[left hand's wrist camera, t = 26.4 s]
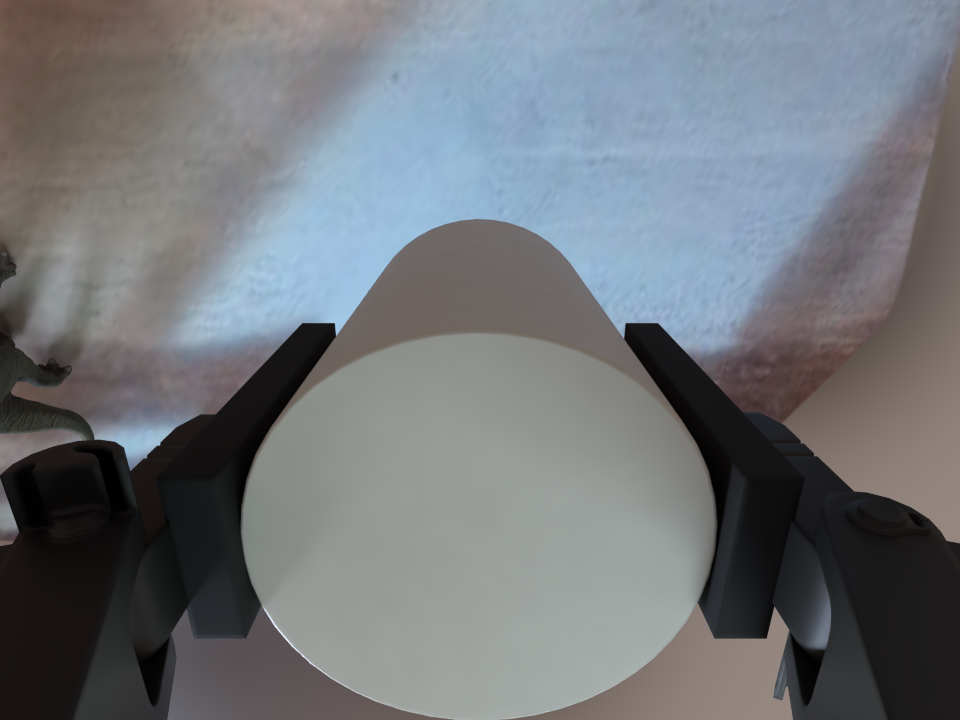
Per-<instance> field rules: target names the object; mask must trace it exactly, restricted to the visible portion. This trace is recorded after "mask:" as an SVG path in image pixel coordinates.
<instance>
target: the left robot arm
mask: <svg viewBox="0 0 960 720" xmlns="http://www.w3.org/2000/svg"><path fill="white" fill-rule="evenodd" d="M335 337H336V332H335V323H302V324H301V325H300V326H299V327H298V328H297V330H296V331H295V332H294V333H293V334H292V335H291V336H290V337H289V338H288V339H287V340H286V341H285V342H284V343H283V344H282V345H281V346H280V347H279V349H278V350H277V351H276V352H275V353H274V354H273V355H272V356H271V357H270V358H269V359H268V360H267V361H266V362H265V363H264V364H263V365H262V366H261V367H260V369H259V370H258V371H257V372H256V373H255V374H254V375H253V376H252V377H251V378H250V379H249V380H248V381H247V382H246V383H245V384H244V385H243V386H242V387H241V389H240V390H239V391H238V392H237V393H236V394H235V395H234V396H233V397H232V398H231V399H230V400H229V401H228V402H227V403H226V404H225V405H224V406H223V407H222V409H221V410H220V411H219V412H218V413H217V414H210V415H199V416H197V417H195V418H193V419H191V420H189V421H188V422H186V423H184V424H182V425H180V426H178V427H176V428H175V429H174V430H173V431H172V432H171V433H170V434H169V435H168V436H167V437H166V438H165V439H164V440H163V441H162V442H161V444H160V446H156V447H155V448H154V449H153V450H152V451H151V452H150V453H149V454H148V455H147V459H143V460H142V461H141V462H140V463H139V464H138V465H137V466H136V467H135V468H133V469H132V470H131V471H130V469H129V466H128V462H127V458H126V454H125V450H124V447H122V446H121V445H119V444H117V443H116V442H112V441H105V440H86V441H76V442H71V443H67V444H62V445H57V446H54V447H51V448H48V449H45V450H42V451H39V452H37V453H34V454H31V455H29V456H28V457H26V458H24V459H22V460H20V461H18V462H16V463H14V464H12V465H11V466H10V467H9V468H8V469H7V470H6V471H4V472H3V473H2V474H1V475H0V479H1V481H2V484H3V487H4V490H5V493H6V496H7V498H8V501H9V504H10V507H11V510H12V513H13V515H14V518H15V521H16V524H17V527H18V530H19V534H18V536H17V537H16V539H15V541H14V542H13V544H10V545H5V546H0V720H167V717H168V711H169V704H170V697H171V691H172V684H173V678H174V671H175V664H176V652H175V645H174V641H173V637H172V634H171V632H172V631H173V629H174V628H175V626H176V624H177V623H178V621H179V619H180V618H181V616H182V615H183V613H184V611H185V610H186V608H187V612H188V616H189V620H190V624H191V629H192V633H193V637H194V638H246V637H247V635H248V633H249V630H250V628H251V626H252V624H253V622H254V620H255V618H256V616H257V613H258V611H259V609H260V607H261V603H260V601H259V599H258V597H257V594H256V592H255V590H254V588H253V586H252V584H251V581H250V577H249V574H248V570H247V567H246V563H245V559H244V553H243V547H242V539H241V504H242V499H243V494H244V489H245V484H246V479H247V476H248V474H249V471H250V468H251V466H252V463H253V460H254V457H255V455H256V452H257V451H258V449H259V447H260V445H261V444H262V442H263V440H264V438H265V437H266V435H267V433H268V431H269V430H270V428H271V426H272V425H273V424H274V422H275V421H276V420H277V418H278V417H279V415H280V414H281V413H282V411H283V410H284V408H285V407H286V406H287V404H288V403H289V401H290V400H291V399H292V397H293V396H294V394H295V393H296V392H297V390H298V389H299V388H300V386H301V385H302V383H303V382H304V381H305V379H306V378H307V376H308V375H309V374H310V372H311V371H312V369H313V368H314V367H315V365H316V364H317V362H318V361H319V360H320V358H321V357H322V356H323V354H324V353H325V351H326V350H327V349H328V347H329V346H330V344H331V343H332V342H333V340H334V339H335ZM624 340H625V341H626V343H627V344H628V346H629V347H630V348H631V350H632V351H633V353H634V354H635V355H636V357H637V358H638V360H639V361H640V362H641V364H642V365H643V367H644V368H645V369H646V371H647V372H648V374H649V375H650V377H651V378H652V379H653V381H654V382H655V384H656V385H657V386H658V388H659V389H660V391H661V392H662V393H663V395H664V396H665V398H666V399H667V400H668V402H669V403H670V405H671V406H672V407H673V409H674V410H675V412H676V413H677V415H678V416H679V417H680V419H681V420H682V422H683V423H684V425H685V426H686V428H687V430H688V431H689V433H690V434H691V436H692V437H693V439H694V440H695V442H696V444H697V445H698V448H699V450H700V452H701V454H702V457H703V459H704V461H705V464H706V466H707V468H708V471H709V475H710V478H711V482H712V486H713V490H714V494H715V501H716V513H717V534H716V547H715V554H714V558H713V562H712V566H711V570H710V575H709V577H708V580H707V582H706V585H705V587H704V590H703V592H702V594H701V597H700V599H699V601H698V604H699V606H700V608H701V610H702V612H703V615H704V617H705V619H706V621H707V623H708V625H709V628H710V630H711V632H712V634H713V636H714V638H757V639H758V638H759V639H764V638H765V639H766V638H767V635H768V630H769V626H770V622H771V618H772V614H773V610H774V606H775V608H776V609H777V611H778V612H779V614H780V616H781V617H782V619H783V620H784V622H785V624H786V625H787V627H788V628H789V634H788V637H787V642H786V645H785V649H784V653H783V657H782V661H781V665H780V669H779V673H778V677H777V681H776V684H775V691H774V698H776V699H780V700H782V699H783V695H784V691H785V688H786V687H787V686H788V689H789V696H790V702H791V709H792V715H793V720H960V543H955V542H949V541H946V539H945V538H944V536H943V535H942V533H941V531H940V530H939V529H938V528H937V527H936V526H935V525H934V524H933V523H932V522H931V521H930V519H928V518H927V517H925V516H924V515H922V514H920V513H919V512H917V511H916V510H914V509H913V508H911V507H909V506H906V505H904V504H902V503H899V502H897V501H894V500H892V499H890V498H886V497H882V496H878V495H874V494H870V493H865V492H854V491H853V490H852V489H851V488H850V487H849V486H848V485H847V484H846V483H845V482H844V481H843V480H841V479H840V478H839V477H838V476H837V475H836V474H835V473H834V472H833V471H832V470H831V469H830V468H829V467H828V466H827V465H826V464H825V463H824V462H823V461H822V460H820V459H819V458H818V457H817V456H814V453H813V452H812V451H811V450H810V449H809V448H808V447H807V446H806V445H805V444H801V442H800V440H799V439H798V438H797V437H796V436H795V435H794V434H793V433H792V432H791V431H790V430H789V429H788V428H787V427H786V426H785V425H783V424H781V423H779V422H777V421H775V420H773V419H771V418H769V417H768V416H766V415H764V414H762V413H743V412H742V411H741V410H740V409H739V408H738V407H737V406H736V405H735V404H734V403H733V402H732V401H731V400H730V399H729V398H728V396H727V395H726V394H725V393H724V392H723V391H722V390H721V389H720V388H719V387H718V386H717V385H716V384H715V383H714V382H713V381H712V380H711V379H710V378H709V376H708V375H707V374H706V373H705V372H704V371H703V370H702V369H701V368H700V367H699V366H698V365H697V364H696V363H695V362H694V361H693V360H692V359H691V358H690V356H689V355H688V354H687V353H686V352H685V351H684V350H683V349H682V348H681V347H680V346H679V345H678V344H677V343H676V342H675V341H674V340H673V339H672V338H671V336H670V335H669V334H668V333H667V332H666V331H665V330H664V329H663V328H662V327H661V326H660V325H659V324H658V323H626V325H625V336H624Z"/></svg>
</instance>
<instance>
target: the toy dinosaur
mask: <svg viewBox="0 0 960 720" xmlns="http://www.w3.org/2000/svg"><path fill="white" fill-rule="evenodd" d="M15 269H16V264H14V263H12V262H10V261H9V255H8V253H7V252H6V251H1V252H0V287H1V284H2V282H3V281H4V280H6V279H8V278H9V277H11V276H15V275H16V272H15ZM71 370H72V367H71V366H66V367H62V368H60V367H59V364H58V363H57V362H56V361H55V360H54V359H53V358H51V359H50V360H49V361H48V363H47V365H46V366H44V365H42V364H38V366H37V365H36V364H34V363H33V361H32V359H30V358H29V357H27V356H26V355H25V354H24V352H23V351H21V350H20V349H17V348H15V343H14V342H13V340H12V339H11V335H10V334H9V335H5V334H4V333H2V332H1V330H0V434H21V433H32V432H38V431H45V430H66V431H70V432H73V433H75V434H77V435H78V436H79V437H80V438H81V439H82V441H86V440H94V434H93V432H92V430H91V427H90V425H89V424H88V423H87V422H86V421H85V420H84V419H83V418H82V417H81V416H80V415H79V414H77V413H75V412H73V411H70V410H66V409H60V408H57V407H53V406H50V405H46V404H42V403H40V402H36V401H30V400H26V399H23V398H20V397H16V396H14V395H12V394H11V390H12V388H13V387H14V385H15V384H16V382H17V381H20V382H23V381H27V382H29V383H30V384H32V385H33V386H35V387H37V388H38V387H55V386H58V385H59V384H61V383H62V381H63V380H64V379H65V378H66V377H68V376H69V375H70V373H71Z"/></svg>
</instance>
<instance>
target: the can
mask: <svg viewBox="0 0 960 720" xmlns="http://www.w3.org/2000/svg"><path fill="white" fill-rule="evenodd" d="M716 534H717V513H716V501H715V494H714V490H713V486H712V482H711V478H710V475H709V471H708V468H707V466H706V464H705V461H704V459H703V457H702V454H701V452H700V450H699V448H698V445H697V444H696V442H695V440H694V439H693V437H692V436H691V434H690V433H689V431H688V430H687V428H686V426H685V425H684V423H683V422H682V420H681V419H680V417H679V416H678V415H677V413H676V412H675V410H674V409H673V407H672V406H671V405H670V403H669V402H668V400H667V399H666V398H665V396H664V395H663V393H662V392H661V391H660V389H659V388H658V386H657V385H656V384H655V382H654V381H653V379H652V378H651V377H650V375H649V374H648V372H647V371H646V369H645V368H644V367H643V365H642V364H641V362H640V361H639V360H638V358H637V357H636V355H635V354H634V353H633V351H632V350H631V348H630V347H629V346H628V344H627V343H626V341H625V340H624V338H623V337H622V336H621V334H620V333H619V331H618V330H617V329H616V327H615V326H614V324H613V323H612V322H611V320H610V319H609V317H608V316H607V315H606V313H605V312H604V310H603V309H602V308H601V306H600V305H599V303H598V302H597V300H596V299H595V298H594V296H593V295H592V293H591V292H590V291H589V289H588V288H587V286H586V285H585V284H584V282H583V281H582V279H581V278H580V277H579V275H578V274H577V272H576V271H575V269H574V268H573V267H572V265H571V264H570V263H569V262H568V260H567V259H566V258H565V257H564V256H563V255H562V253H561V252H560V251H558V250H557V249H556V248H555V247H554V246H553V245H552V244H550V243H549V242H548V241H546V240H545V239H543V238H542V237H540V236H539V235H537V234H535V233H533V232H531V231H529V230H527V229H525V228H523V227H519V226H516V225H513V224H510V223H506V222H501V221H495V220H482V219H474V220H463V221H458V222H453V223H449V224H445V225H442V226H440V227H437V228H434V229H432V230H430V231H428V232H426V233H424V234H422V235H420V236H418V237H417V238H416V239H414V240H413V241H411V242H410V243H409V244H407V245H406V246H405V247H404V248H403V249H402V250H401V251H400V252H399V253H397V254H396V255H395V256H394V258H393V259H392V260H391V262H390V263H389V264H388V265H387V267H386V268H385V269H384V271H383V272H382V273H381V275H380V276H379V278H378V279H377V280H376V282H375V283H374V285H373V286H372V287H371V289H370V290H369V292H368V293H367V294H366V296H365V297H364V298H363V300H362V301H361V303H360V304H359V305H358V307H357V308H356V310H355V311H354V312H353V314H352V315H351V317H350V318H349V319H348V321H347V322H346V324H345V325H344V326H343V328H342V329H341V330H340V332H339V333H338V335H337V336H336V337H335V339H334V340H333V342H332V343H331V344H330V346H329V347H328V349H327V350H326V351H325V353H324V354H323V356H322V357H321V358H320V360H319V361H318V362H317V364H316V365H315V367H314V368H313V369H312V371H311V372H310V374H309V375H308V376H307V378H306V379H305V381H304V382H303V383H302V385H301V386H300V388H299V389H298V390H297V392H296V393H295V394H294V396H293V397H292V399H291V400H290V401H289V403H288V404H287V406H286V407H285V408H284V410H283V411H282V413H281V414H280V415H279V417H278V418H277V420H276V421H275V422H274V424H273V425H272V426H271V428H270V430H269V431H268V433H267V435H266V437H265V438H264V440H263V442H262V444H261V445H260V447H259V449H258V451H257V452H256V455H255V457H254V460H253V463H252V466H251V468H250V471H249V474H248V476H247V479H246V484H245V489H244V494H243V499H242V504H241V539H242V547H243V553H244V559H245V563H246V567H247V570H248V574H249V577H250V581H251V584H252V586H253V588H254V590H255V592H256V594H257V597H258V599H259V601H260V603H261V605H262V607H263V608H264V610H265V611H266V613H267V615H268V616H269V618H270V619H271V621H272V622H273V624H274V625H275V627H276V628H277V629H278V630H279V632H280V633H281V634H282V635H283V636H284V638H285V639H286V640H287V641H288V642H289V643H290V645H291V646H292V647H293V648H294V649H295V650H297V651H298V652H299V653H300V654H301V655H302V656H303V657H304V658H305V659H306V660H307V661H309V662H310V663H311V664H312V665H314V666H315V667H316V668H318V669H319V670H320V671H322V672H323V673H325V674H326V675H327V676H329V677H330V678H331V679H333V680H335V681H337V682H338V683H340V684H342V685H344V686H345V687H347V688H349V689H351V690H352V691H354V692H356V693H359V694H361V695H363V696H365V697H368V698H370V699H372V700H375V701H377V702H379V703H382V704H386V705H389V706H392V707H395V708H398V709H401V710H404V711H409V712H413V713H418V714H422V715H427V716H432V717H440V718H448V719H456V720H498V719H512V718H518V717H524V716H531V715H537V714H541V713H545V712H549V711H553V710H557V709H560V708H564V707H567V706H569V705H572V704H575V703H578V702H581V701H583V700H586V699H589V698H591V697H593V696H595V695H597V694H599V693H601V692H603V691H605V690H607V689H609V688H611V687H613V686H615V685H616V684H618V683H620V682H621V681H623V680H624V679H626V678H628V677H629V676H631V675H632V674H634V673H635V672H636V671H638V670H639V669H640V668H641V667H643V666H644V665H645V664H647V663H648V662H649V661H651V660H652V659H653V658H654V657H655V656H656V655H657V654H658V653H659V652H660V651H661V650H662V649H663V648H664V647H665V646H666V645H667V644H668V643H669V642H670V641H671V640H672V639H673V638H674V636H675V635H676V634H677V633H678V631H679V630H680V629H681V627H682V626H683V625H684V624H685V622H686V621H687V620H688V618H689V616H690V615H691V613H692V611H693V609H694V608H695V606H696V604H697V603H698V601H699V599H700V597H701V594H702V592H703V590H704V587H705V585H706V582H707V580H708V577H709V575H710V570H711V566H712V562H713V558H714V554H715V547H716Z"/></svg>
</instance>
